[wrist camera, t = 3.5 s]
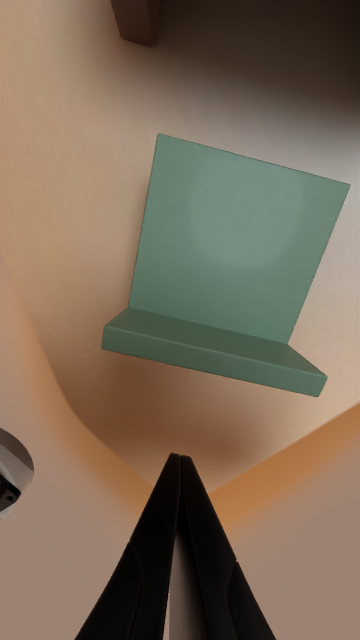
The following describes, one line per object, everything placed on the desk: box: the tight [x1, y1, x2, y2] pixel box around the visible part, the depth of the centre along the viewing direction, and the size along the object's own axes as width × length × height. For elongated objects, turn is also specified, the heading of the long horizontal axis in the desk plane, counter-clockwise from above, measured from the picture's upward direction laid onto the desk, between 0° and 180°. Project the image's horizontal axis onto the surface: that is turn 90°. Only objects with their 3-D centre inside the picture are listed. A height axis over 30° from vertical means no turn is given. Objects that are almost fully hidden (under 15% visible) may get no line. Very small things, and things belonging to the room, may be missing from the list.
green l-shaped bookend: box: [101, 133, 350, 397], centre depth 9 cm, size 7×7×6 cm
